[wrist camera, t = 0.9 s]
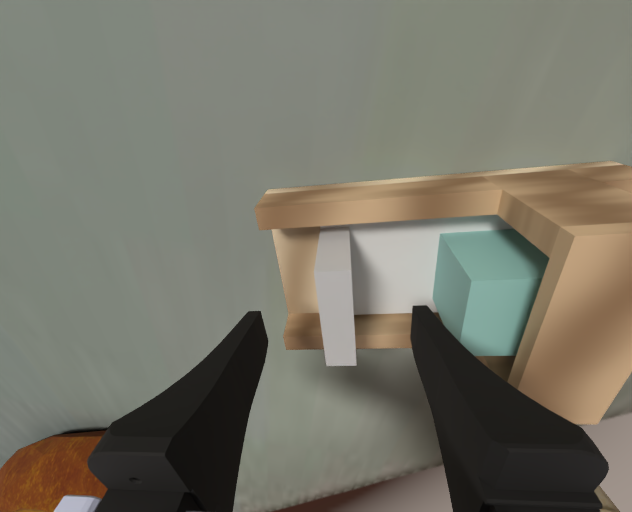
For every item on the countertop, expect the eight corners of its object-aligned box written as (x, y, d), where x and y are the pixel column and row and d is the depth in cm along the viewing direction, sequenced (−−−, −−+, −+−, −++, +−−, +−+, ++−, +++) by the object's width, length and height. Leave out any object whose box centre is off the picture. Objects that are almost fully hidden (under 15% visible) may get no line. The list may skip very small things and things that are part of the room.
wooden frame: (610, 160, 15) (828, 221, 8) (552, 311, 20) (658, 425, 13) (267, 189, 17) (219, 256, 10) (292, 318, 22) (271, 419, 15)
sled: (543, 201, 15) (625, 248, 11) (513, 302, 19) (566, 369, 14) (320, 217, 17) (312, 264, 12) (330, 308, 20) (326, 370, 16)
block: (528, 228, 15) (592, 276, 11) (509, 295, 18) (557, 355, 14) (439, 233, 16) (471, 281, 12) (432, 298, 18) (456, 356, 14)
